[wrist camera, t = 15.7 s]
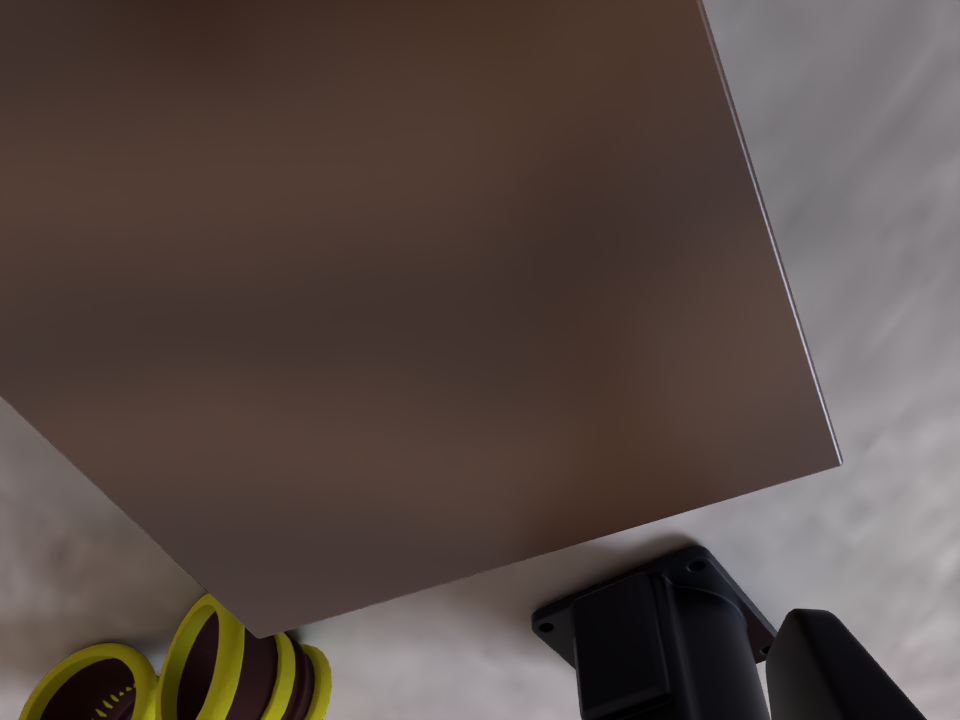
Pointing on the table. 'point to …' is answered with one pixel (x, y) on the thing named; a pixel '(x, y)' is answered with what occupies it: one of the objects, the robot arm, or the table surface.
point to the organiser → (390, 283)
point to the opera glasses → (190, 677)
